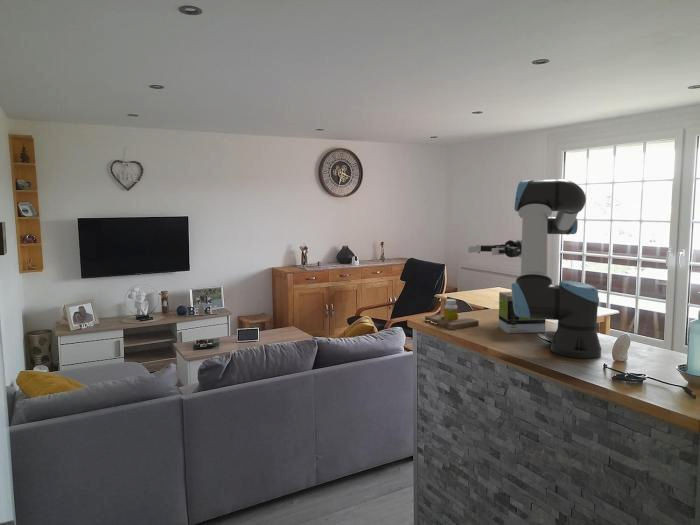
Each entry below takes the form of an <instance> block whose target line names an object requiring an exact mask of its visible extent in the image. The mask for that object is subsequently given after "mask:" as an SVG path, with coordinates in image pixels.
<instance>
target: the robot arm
mask: <svg viewBox="0 0 700 525" xmlns="http://www.w3.org/2000/svg"><path fill="white" fill-rule="evenodd" d="M586 200H587V196H586V194H585V191H584V190H583V189H582V187H581V186H580V185H578V184H577V183H575V182H573V181H570V180H569V179H564V178H563V179H562V178H561V179H559V178H558V179H526V180H520V181H519V183H518V184H517V188H516V193H515V199H514V206H513V207H514V211H515V212H517V213H518V216H519V217H520V218H521V220H522V222H521V239H513V240H512V239H511V240H510V239H509V240H507V241H506V242H505V243H504V244H503V243H502V244H493V245H490V244H489V245H481V244H479V245H478V244H477V245H471V246H469V245H468V247H467V248H468V249H467V250H468V251H467V253H468V254H469V253H478V254H481V252H489V253H490V252H491V256H501V255H505V256H506V257H508V258H517V257H518V258H520V259H521V260H520V275H519V276H517V277H516V279H515V282H513V283H511V292H512V301H513V309H514V313H515V315H516V316H518V317H523V318H528V319H530V318H533V319H545V320H550V321H551V320H553V321H557V328H556V331H555V334H554V335H553V337H552V341H551V346H550V347H551V348H550V349H551V351H552V352H553V353H554V354H557V355H560V356H563V357H568V358H574V359H586V360H587V359H588V360H589V359H596V358H600V357H601V355H602V347H601V343H600V339H599V336H598V332H597V328H598V327H597V324H598V310H599V309H598V308H599V306H598V305H599V303H600V301H599V291H598V289H597V287H595V286H594V285H591V284H587V283H584V282H579V281H574V280H573V281H572V280H560V281H559V284H553V280H552V278H551V277H550V276H548V235H566V236H567V235H576V234H577V232H578V228H579V226H578V225H579V224H578V223H579V222H578V219H577V217H578V214H579V212H581V211H582V210H583V209H584V207H585V204H586V202H587V201H586ZM553 212H556V215H555V216H552V214H553Z"/></svg>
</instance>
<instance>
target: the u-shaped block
mask: <svg viewBox="0 0 700 525" xmlns="http://www.w3.org/2000/svg"><path fill="white" fill-rule="evenodd" d="M437 316H439V317H437ZM425 320H430V321H432V322H434V323H437V324H439V325H441V326H440V327H442V326H443V327H442V328H445V329H449V330H451V331H452V330H453V331H454V330H459V329H460V330H461V329H464V328H471V327H476V326H479V320H477V319H474V318H471V317H466V318H465V317H464V318H459V314H457V320H451V321H448V320H445V319H444V313H439V314H432V315H426V316H424V321H425ZM439 325H438V326H439Z"/></svg>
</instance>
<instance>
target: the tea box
mask: <svg viewBox="0 0 700 525" xmlns="http://www.w3.org/2000/svg"><path fill="white" fill-rule="evenodd" d="M498 301H499V302H498V306H499V307H498V327H499V328H500V329H501V330H503V331H504V332H505V333H506V334H518V333H519V334H520V333H522V334H523V333H525V334H526V333H545V332H546V319H533V318H530V319H528V318H523V317H518V316H516V315H515V313H514V309H513V301H512V291H501V292H499V294H498Z"/></svg>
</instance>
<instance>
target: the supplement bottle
mask: <svg viewBox="0 0 700 525" xmlns="http://www.w3.org/2000/svg"><path fill="white" fill-rule="evenodd" d="M445 303H446V304H445V305H444V308H443V309H444V310H443V311H444V312H443V314H444V319H445V320H448V321H451V320H458V319H457V315H458V305H457V300H456V299H453V298H447V299H445Z"/></svg>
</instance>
